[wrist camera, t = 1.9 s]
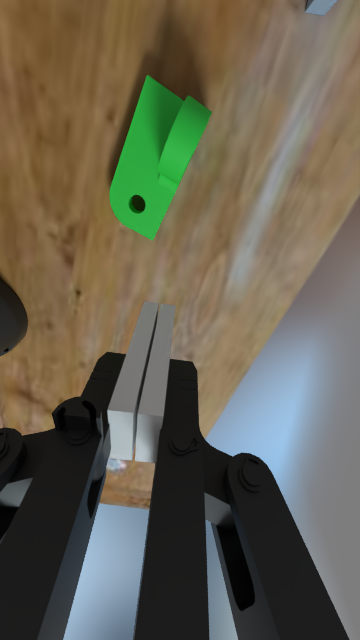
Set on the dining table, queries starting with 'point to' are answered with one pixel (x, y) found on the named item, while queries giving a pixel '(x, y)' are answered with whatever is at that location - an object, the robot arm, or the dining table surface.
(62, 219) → the dining table surface
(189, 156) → the mechanical part
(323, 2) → the hub cradle
